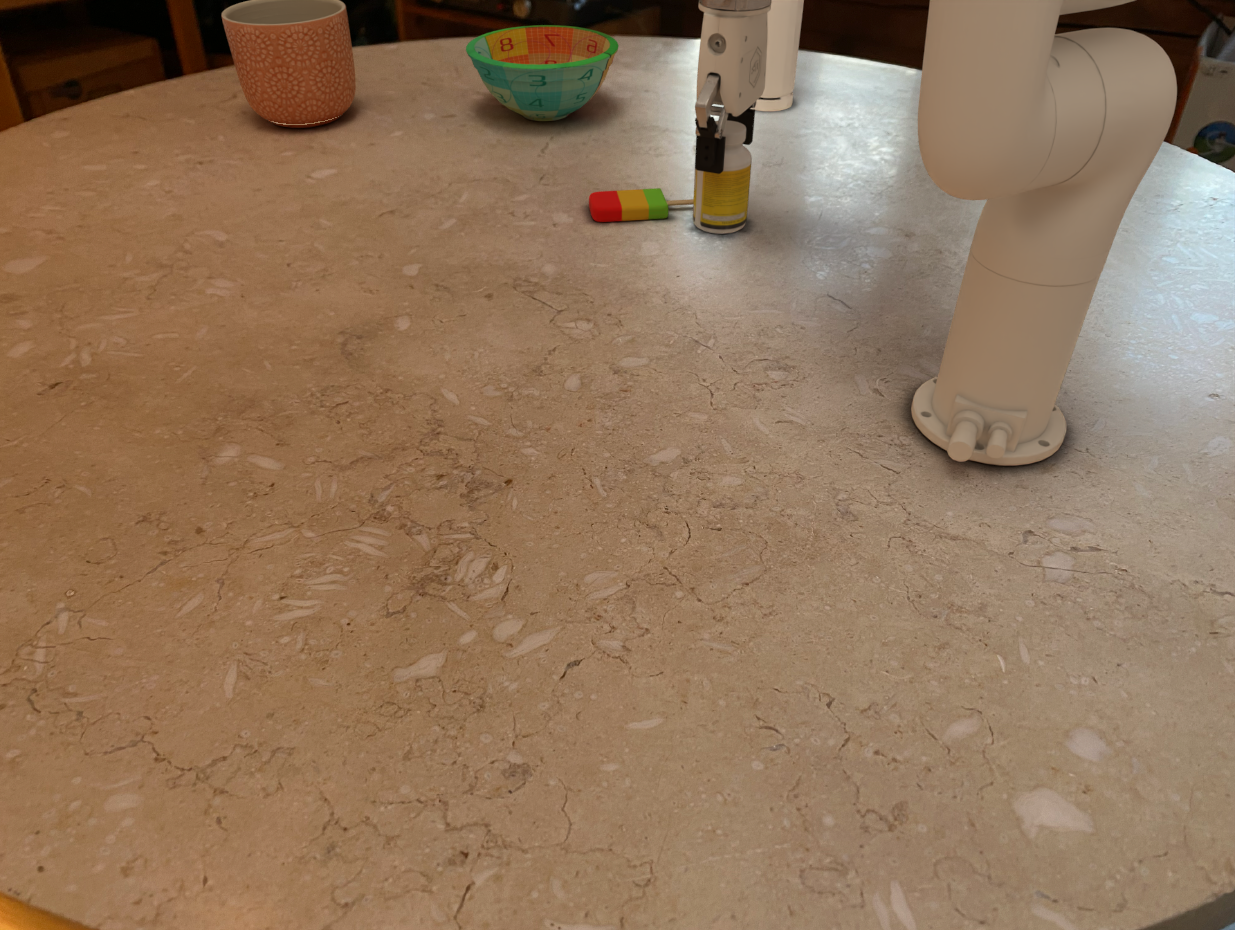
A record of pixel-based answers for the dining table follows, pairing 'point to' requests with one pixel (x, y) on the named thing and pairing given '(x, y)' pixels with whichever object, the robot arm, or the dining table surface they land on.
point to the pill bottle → (724, 187)
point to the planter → (293, 58)
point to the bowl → (543, 67)
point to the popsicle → (631, 205)
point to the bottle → (781, 54)
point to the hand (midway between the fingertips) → (724, 156)
